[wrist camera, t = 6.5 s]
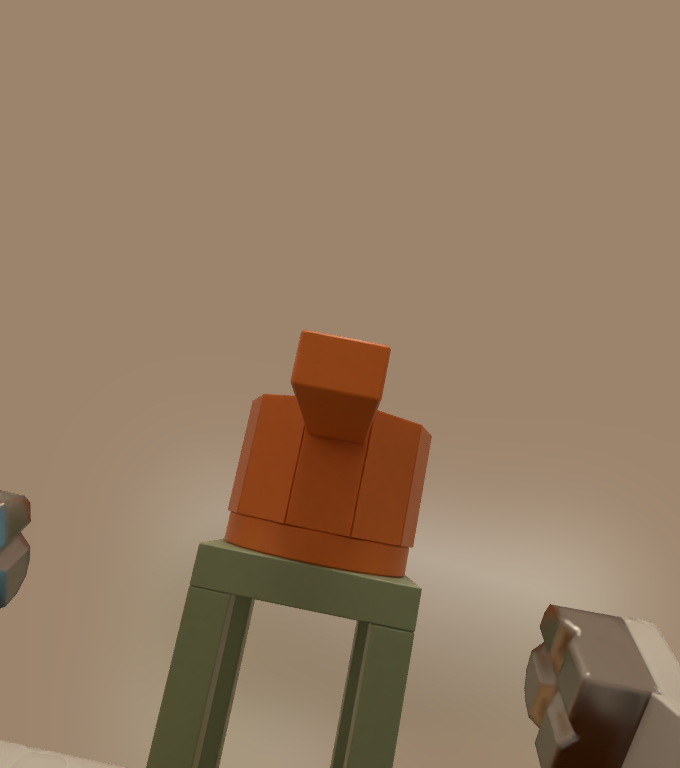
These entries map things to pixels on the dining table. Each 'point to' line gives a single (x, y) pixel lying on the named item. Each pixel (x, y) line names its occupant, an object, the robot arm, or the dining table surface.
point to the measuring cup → (330, 465)
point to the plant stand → (227, 642)
